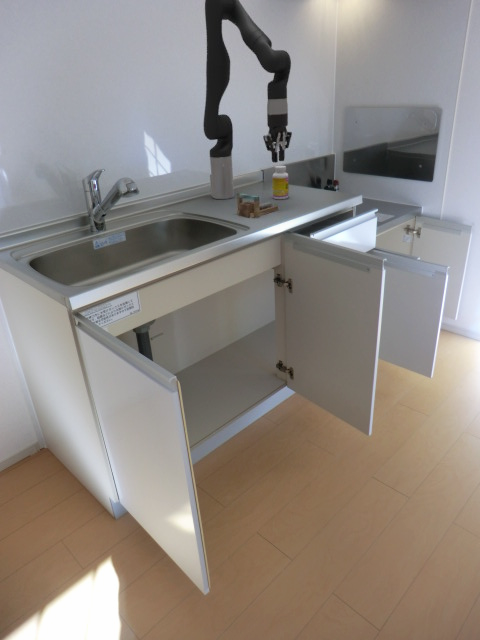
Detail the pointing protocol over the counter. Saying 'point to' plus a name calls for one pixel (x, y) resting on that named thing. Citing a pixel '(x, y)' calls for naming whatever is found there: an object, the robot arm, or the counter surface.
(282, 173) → the supplement bottle
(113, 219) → the counter surface
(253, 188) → the counter surface
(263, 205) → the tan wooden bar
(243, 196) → the rail channel with trap bar
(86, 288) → the counter surface
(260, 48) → the robot arm
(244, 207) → the walnut cube
